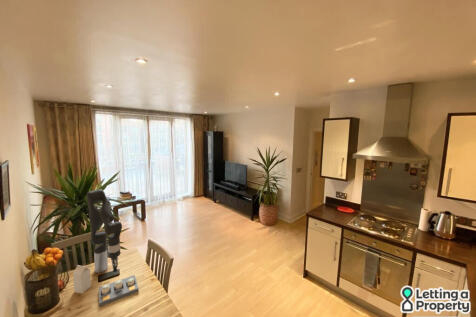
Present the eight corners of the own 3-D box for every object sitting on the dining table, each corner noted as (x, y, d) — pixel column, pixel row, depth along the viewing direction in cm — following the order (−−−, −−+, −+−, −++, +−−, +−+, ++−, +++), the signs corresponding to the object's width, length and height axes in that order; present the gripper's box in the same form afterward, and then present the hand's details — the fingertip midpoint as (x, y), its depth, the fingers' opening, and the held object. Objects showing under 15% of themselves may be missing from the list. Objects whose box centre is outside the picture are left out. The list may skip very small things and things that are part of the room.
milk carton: (81, 293, 143) (80, 269, 141) (74, 292, 145) (72, 268, 142) (91, 286, 150) (89, 263, 148) (83, 285, 151) (82, 262, 149)
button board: (99, 290, 146) (98, 286, 146) (134, 278, 160) (134, 274, 160) (99, 307, 133) (99, 302, 132) (138, 291, 147) (138, 287, 146)
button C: (126, 284, 152) (126, 279, 151) (133, 282, 154) (133, 277, 154) (127, 288, 148) (127, 283, 147) (134, 285, 150) (134, 280, 150)
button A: (101, 291, 142) (101, 285, 142) (109, 288, 145) (109, 283, 144) (101, 295, 138) (101, 290, 138) (109, 292, 141) (109, 287, 140)
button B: (114, 286, 147) (114, 281, 146) (122, 283, 149) (121, 278, 149) (115, 290, 143) (114, 285, 142) (122, 287, 146) (122, 282, 145)
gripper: (107, 246, 145) (108, 268, 147) (109, 255, 134) (109, 278, 136) (118, 243, 149) (119, 264, 151) (121, 252, 139) (122, 274, 141)
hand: (115, 271), depth 144 cm, fingers closed
